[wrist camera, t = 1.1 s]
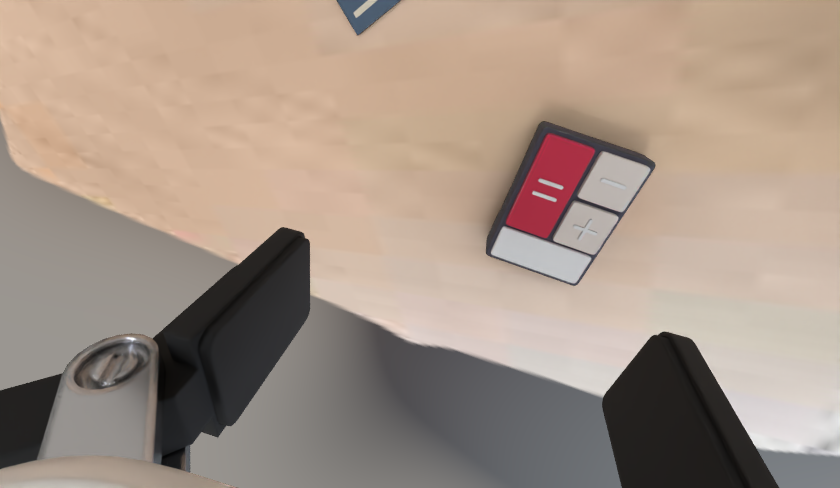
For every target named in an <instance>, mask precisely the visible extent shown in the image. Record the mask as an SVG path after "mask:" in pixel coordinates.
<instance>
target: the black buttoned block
mask: <svg viewBox="0 0 840 488" xmlns="http://www.w3.org/2000/svg"><path fill="white" fill-rule="evenodd" d="M654 168H655V163H654V162H653V161H652V160H650V159H649V158H647V157H646V156H644V155H642V154H640V153H637V152H634V151H631V150H628V149H625V148H622V147H619V146H616V145H613V144H611V143H608V142H605V141H602V140H599V139H596V138H593V137H590V136H587V135H584V134H581V133H578V132H575V131H572V130H569V129H566V128H563V127H561V126H558V125H555V124H552V123H549V122H545V121H543V122H541V123H540V124H539V126H538V128H537V130H536V132H535V135H534V137H533V139H532V141H531V143H530V146H529V148H528V150H527V152H526V155H525V157H524V159H523V161H522V163H521V166H520V168H519V170H518V172H517V175H516V177H515V179H514V181H513V183H512V186H511V188H510V190H509V192H508V194H507V197H506V199H505V201H504V203H503V206H502V208H501V210H500V212H499V213H498V215H497V217H496V219H495V221H494V224H493V226H492V228H491V230H490V232H489V235H488V237H487V243H486V254H487V255H488V256H490V257H493V258H496V259H499V260H502V261H505V262H507V263H510V264H513V265H516V266H519V267H522V268H525V269H527V270H530V271H533V272H536V273H539V274H542V275H544V276H547V277H550V278H553V279H556V280H559V281H561V282H564V283H567V284H570V285H573V286H575V285H577V284H578V283H579V282H580V280H581V279H582V277H583V276H584V274H585V273H586V271H587V270H588V268H589V267H590V265H591V264H592V262H593V261H594V259H595V258H596V256H597V255H598V253H599V252H600V250H601V249H602V247H603V246H604V244H605V243H606V241H607V239H608V238H609V236H610V235H611V233H612V232H613V230H614V229H615V227H616V226H617V224H618V223H619V221H620V220H621V218H622V217H623V215H624V214H625V212H626V211H627V209H628V208H629V206H630V205H631V203H632V202H633V200H634V199H635V197H636V196H637V194H638V193H639V191H640V190H641V188H642V187H643V185H644V184H645V182H646V181H647V179H648V177H649V176H650V174H651V173H652V171H653V170H654Z"/></svg>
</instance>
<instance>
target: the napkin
mask: <svg viewBox="0 0 840 488" xmlns="http://www.w3.org/2000/svg"><path fill="white" fill-rule="evenodd" d="M399 1H400V0H337V2H338V3H339V5H340V7H341V9H342V10H343V12H344V14H345V15H346V17H347V19H348V20H349V22H350V24H351V25H352V27H353V29H354V30H355V32H356V34H357V35H359V34H360V33H361V32H363V31H364V30H365V29H366V28H368V27H369V26H370V25H371V24H372V23H374V22H375V21H376V20H377V19H379V18H380V17H381V16H382V15H383V14H385V13H386V12H387V11H388V10H389V9H391V8H392V7H393V6H394V5H396V4H397V3H398V2H399Z"/></svg>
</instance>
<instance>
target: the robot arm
mask: <svg viewBox="0 0 840 488" xmlns="http://www.w3.org/2000/svg"><path fill="white" fill-rule="evenodd" d="M309 311H310V242H309V240H308V239H305V236H304V233H302V232H299V231H296V230H292V229H288V228H285V227H281V228H280V229H278V230H277V231H276V232H275V233H274V234H273V235H272V236H271V237H269V238H268V239H267V240H266V241H265V242H264V243H263V244H261V245H260V246H259V247H258V248H257V249H256V250H255V251H254V252H252V253H251V254H250V255H249V256H248V257H247V258H246V259H245V260H243V261H242V262H241V263H240V264H239V265H237V266H235V267H234V268H233V269H231V270H230V271H229V272H228V273H227V274H225V275H224V276H223V277H222V278H221V279H220V280H219V281H217V282H216V283H215V284H214V285H213V286H212V287H211V288H210V289H209V290H207V291H206V292H205V293H204V294H203V295H202V296H200V297H199V298H198V299H197V300H196V301H195V302H194V303H192V304H191V305H190V306H189V307H188V308H187V309H186V310H184V311H183V312H182V313H181V314H180V315H179V316H178V317H177V318H175V319H174V320H173V321H172V322H171V323H170V324H169V325H168V326H166V327H165V328H164V329H163V330H162V331H161V332H159V334H157V335H156V336H155V337H154V338H153V339H152V338H150V337H147V336H145V335H141V334H124V335H116V336H113V337H110V338H106V339H103V340H101V341H99V342H97V343H95V344H92V345H90V346H89V347H87V348H86V349H84V350H83V351H82V352H80V353H78V354H77V355H76V356H75V357H74V358H73V359H72V360H71V362H69V364H68V365H67V367H66V368H65V370H64V372H63V373H62V374H59V375H55V376H52V377H48V378H44V379H40V380H37V381H33V382H30V383H26V384H22V385H19V386H15V387H11V388H8V389H4V390H1V391H0V488H237V487H234V486H230V485H227V484H224V483H221V482H218V481H215V480H211V479H208V478H205V477H202V476H199V475H196V474H193V473H190V445H191V444H193V442H194V441H195V439H196V438H197V437H198V436H199V434H200V433H201V432H203V433H206V434H209V435H212V436H215V437H219V435H220V433H221V432H222V431H223V429H224V428H225V427H226V425H227V426H232V425H233V424H234V423H235V422H236V421H237V420H238V418H239V417H240V415H241V414H242V412H243V411H244V410H245V408H246V407H247V405H248V404H249V402H250V401H251V399H252V398H253V397H254V395H255V394H256V392H257V391H258V389H259V388H260V386H261V385H262V384H263V382H264V381H265V379H266V378H267V376H268V375H269V373H270V372H271V370H272V369H273V367H274V366H275V365H276V363H277V362H278V360H279V359H280V357H281V356H282V354H283V353H284V351H285V350H286V349H287V347H288V345H289V344H290V343H291V341H292V340H293V338H294V337H295V336H296V334H297V333H298V331H299V330H300V328H301V327H302V325H303V324H304V322H305V321H306V319H307V317H308V314H309ZM602 407H603V412H604V416H605V420H606V424H607V428H608V432H609V437H610V441H611V445H612V449H613V453H614V457H615V461H616V465H617V469H618V474H619V478H620V482H621V486H622V488H779V487H778V485H777V484H776V482H775V480H774V478H773V476H772V475H771V473H770V472H769V470H768V468H767V466H766V464H765V463H764V461H763V459H762V458H761V456H760V454H759V452H758V451H757V449H756V447H755V446H754V444H753V442H752V440H751V439H750V437H749V435H748V434H747V432H746V430H745V428H744V427H743V425H742V423H741V422H740V420H739V418H738V416H737V415H736V413H735V411H734V410H733V408H732V406H731V404H730V403H729V401H728V399H727V398H726V396H725V394H724V392H723V391H722V389H721V387H720V386H719V384H718V382H717V381H716V379H715V377H714V375H713V374H712V372H711V370H710V369H709V367H708V365H707V363H706V362H705V360H704V358H703V357H702V355H701V353H700V351H699V350H698V348H697V346H696V345H695V343H694V342H693V341H692V340H691V339H690V338H687V337H683V336H680V335H676V334H672V333H669V332H662V333H660V334H659V335H654V336H652V337H651V338H650V339H649V340H648V341H647V342H646V344H645V345H644V346H643V347H642V349H641V350H640V351H639V352H638V354H637V355H636V356H635V357H634V359H633V360H632V361H631V362H630V364H629V365H628V366H627V367H626V369H625V370H624V371H623V372H622V374H621V375H620V376H619V377H618V379H617V380H616V381H615V382H614V384H613V385H612V386H611V387H610V389H609V390H608V391H607V392H606V394H605V395H604V397H603V402H602Z"/></svg>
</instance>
